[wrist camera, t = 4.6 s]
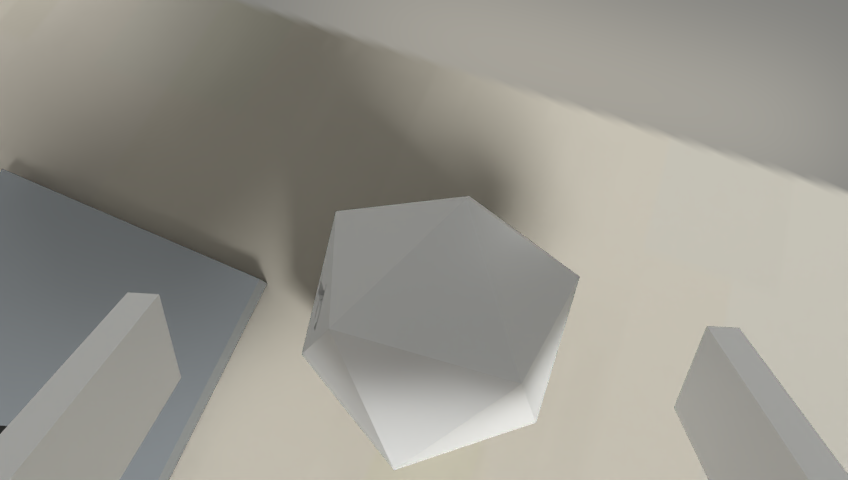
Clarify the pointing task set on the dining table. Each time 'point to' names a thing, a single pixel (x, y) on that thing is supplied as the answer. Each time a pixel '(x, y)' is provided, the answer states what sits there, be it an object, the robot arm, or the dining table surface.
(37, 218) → the slate board
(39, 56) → the dining table surface
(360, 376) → the die
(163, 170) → the dining table surface
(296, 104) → the dining table surface
